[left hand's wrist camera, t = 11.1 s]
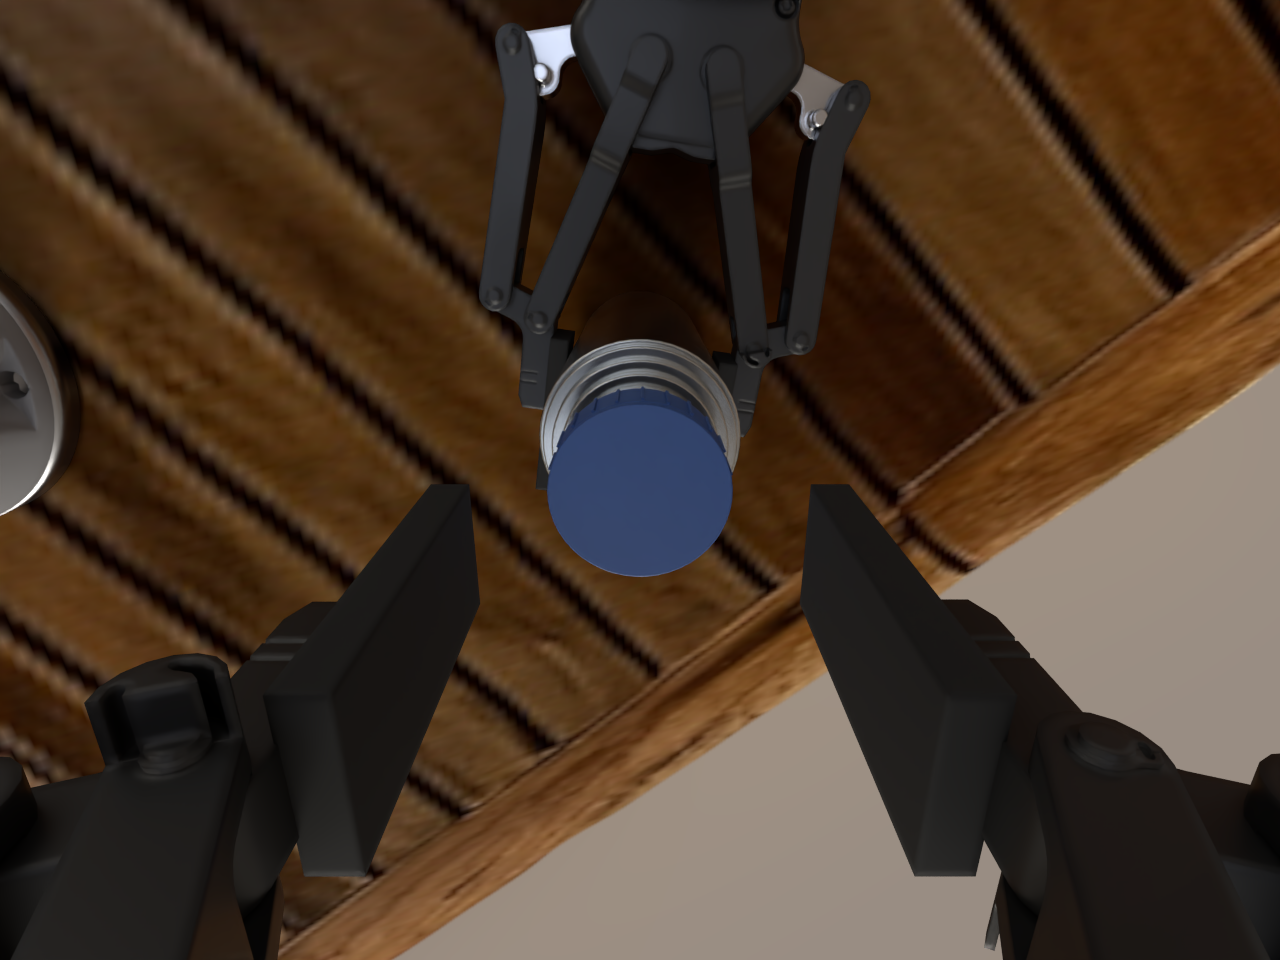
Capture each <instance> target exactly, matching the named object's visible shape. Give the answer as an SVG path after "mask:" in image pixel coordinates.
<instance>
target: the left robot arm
mask: <svg viewBox="0 0 1280 960" xmlns="http://www.w3.org/2000/svg"><path fill="white" fill-rule="evenodd" d="M79 431H80V401H79V395H78V389H77V385H76V381H75V377H74V374H73V371H72V368H71V365H70V363H69V360H68V358H67V355H66V353H65V351H64V349H63V347H62V345H61V343H60V341H59V339H58V338H57V336H56V334H55V332H54V330H53V329H52V327H51V326H50V324H49V323H48V321H47V320H46V319H45V317H44V316H43V314H42V313H41V312H40V311H39V309H38V308H37V307H36V305H35V304H34V303H33V302H32V301H31V300H30V298H29V297H28V296H27V295H26V294H25V293H24V292H23V291H22V290H21V289H20V288H19V287H18V286H17V285H16V284H15V283H14V282H13V281H12V280H11V279H10V278H9V277H8V276H6V275H5V274H4V273H3V272H2V271H0V516H1V515H3V514H5V513H7V512H10V511H12V510H14V509H16V508H18V507H20V506H23V505H25V504H27V503H29V502H31V501H33V500H35V499H36V498H38V497H40V496H41V495H42V494H44V493H45V492H47V491H48V490H49V489H50V488H51V487H52V486H53V485H54V484H55V483H56V482H57V481H58V480H59V479H60V477H61V476H62V475H63V474H64V472H65V470H66V469H67V467H68V465H69V464H70V462H71V459H72V457H73V455H74V452H75V449H76V446H77V442H78V437H79ZM479 605H480V598H479V587H478V576H477V566H476V555H475V544H474V533H473V523H472V512H471V501H470V490H469V484H431V485H430V486H429V488H428V489H427V490H426V491H425V493H424V494H423V495H422V496H421V498H420V499H419V500H418V501H417V503H416V504H415V505H414V506H413V508H412V509H411V510H410V511H409V513H408V514H407V515H406V516H405V518H404V519H403V520H402V521H401V523H400V524H399V525H398V526H397V528H396V529H395V530H394V531H393V533H392V534H391V535H390V536H389V538H388V539H387V540H386V541H385V543H384V544H383V545H382V546H381V548H380V549H379V550H378V551H377V553H376V554H375V555H374V557H373V558H372V559H371V560H370V562H369V563H368V564H367V565H366V567H365V568H364V569H363V570H362V572H361V573H360V574H359V575H358V577H357V578H356V579H355V580H354V582H353V583H352V584H351V585H350V587H349V588H348V589H347V590H346V592H345V593H344V594H343V595H342V597H341V598H340V599H339V600H338V602H311V603H310V604H308V605H306V606H305V607H303V608H302V609H300V610H298V611H297V612H295V613H293V614H292V615H290V616H288V617H287V618H285V619H284V620H283V621H282V622H281V623H280V624H279V625H278V626H277V628H276V629H275V630H274V631H273V632H272V633H271V634H270V635H269V636H268V638H267V639H266V643H262V644H261V645H260V647H259V648H258V649H257V650H256V651H255V652H254V653H253V654H252V655H251V659H250V661H246V662H245V663H244V664H243V665H242V667H241V668H240V669H239V670H238V671H237V672H236V673H235V674H234V675H233V677H232V678H231V679H230V675H229V671H228V667H227V664H226V663H224V662H223V661H222V660H220V659H219V658H218V657H216V656H211V655H205V654H199V653H195V654H183V655H173V656H169V657H165V658H161V659H157V660H153V661H149V662H146V663H144V664H141V665H139V666H137V667H134V668H132V669H130V670H127V671H125V672H123V673H120V674H119V675H117V676H116V677H114V678H113V679H111V680H110V681H108V682H106V683H105V684H103V685H102V686H100V687H99V688H98V689H97V690H96V691H95V692H94V693H93V694H92V695H91V696H90V697H89V698H88V700H87V701H86V702H85V703H84V704H85V707H86V710H87V713H88V716H89V718H90V721H91V724H92V727H93V730H94V733H95V736H96V739H97V742H98V745H99V748H100V751H101V753H102V756H103V759H104V762H105V765H106V766H105V768H104V770H103V772H101V773H97V774H93V775H88V776H84V777H79V778H74V779H70V780H65V781H60V782H56V783H51V784H46V785H42V786H37V787H33V788H30V785H29V782H28V780H27V777H26V775H25V772H24V770H23V767H22V765H20V764H19V763H18V762H16V761H15V760H13V759H12V758H10V757H0V960H277V957H278V950H279V942H280V934H281V926H282V919H283V911H284V895H283V888H282V884H281V880H280V876H279V873H280V871H281V870H282V868H283V866H284V864H285V862H286V861H287V859H288V857H289V855H290V853H291V852H292V850H293V848H294V846H295V844H296V843H297V846H298V851H299V855H300V859H301V864H302V868H303V872H304V876H366V873H367V871H368V869H369V866H370V864H371V862H372V859H373V857H374V854H375V852H376V850H377V847H378V845H379V842H380V840H381V838H382V835H383V833H384V831H385V828H386V826H387V823H388V821H389V819H390V816H391V814H392V812H393V809H394V807H395V804H396V802H397V800H398V797H399V795H400V793H401V790H402V788H403V785H404V783H405V781H406V778H407V776H408V774H409V771H410V769H411V766H412V764H413V762H414V759H415V757H416V755H417V752H418V750H419V747H420V745H421V743H422V740H423V738H424V736H425V733H426V731H427V728H428V726H429V724H430V721H431V719H432V717H433V714H434V712H435V709H436V707H437V705H438V702H439V700H440V697H441V695H442V693H443V690H444V688H445V686H446V683H447V681H448V678H449V676H450V674H451V671H452V669H453V667H454V664H455V662H456V659H457V657H458V655H459V652H460V650H461V648H462V645H463V643H464V640H465V638H466V636H467V633H468V631H469V629H470V626H471V624H472V621H473V619H474V617H475V614H476V612H477V610H478V607H479ZM800 605H801V607H802V610H803V612H804V614H805V617H806V619H807V621H808V624H809V626H810V629H811V631H812V633H813V636H814V638H815V640H816V643H817V645H818V648H819V650H820V652H821V655H822V657H823V659H824V662H825V664H826V667H827V669H828V671H829V674H830V676H831V678H832V681H833V683H834V686H835V688H836V690H837V693H838V695H839V697H840V700H841V702H842V705H843V707H844V709H845V712H846V714H847V717H848V719H849V721H850V724H851V726H852V728H853V731H854V733H855V736H856V738H857V740H858V743H859V745H860V747H861V750H862V752H863V755H864V757H865V759H866V762H867V764H868V766H869V769H870V771H871V774H872V776H873V778H874V781H875V783H876V785H877V788H878V790H879V792H880V795H881V797H882V800H883V802H884V804H885V807H886V809H887V811H888V814H889V816H890V819H891V821H892V823H893V826H894V828H895V831H896V833H897V835H898V838H899V840H900V842H901V845H902V847H903V850H904V852H905V854H906V857H907V859H908V862H909V864H910V866H911V869H912V871H913V873H914V876H976V872H977V868H978V863H979V859H980V855H981V851H982V846H983V842H984V841H985V842H986V844H987V846H988V848H989V850H990V852H991V853H992V855H993V857H994V859H995V860H996V862H997V864H998V866H999V868H1000V869H1001V871H1002V872H1001V876H1000V880H999V884H998V888H997V892H996V896H995V900H994V904H993V908H992V912H991V916H990V920H989V924H988V928H987V932H986V940H985V948H988V949H991V950H995V947H996V943H997V939H998V935H999V933H1000V940H1001V948H1002V955H1003V960H1280V754H1271V755H1269V756H1268V757H1266V758H1265V759H1263V760H1262V761H1261V762H1260V763H1259V765H1258V767H1257V770H1256V772H1255V775H1254V777H1253V780H1252V782H1251V785H1249V784H1244V783H1239V782H1235V781H1230V780H1225V779H1221V778H1216V777H1211V776H1206V775H1202V774H1197V773H1192V772H1188V771H1184V770H1180V769H1176V767H1175V765H1174V764H1173V762H1172V761H1171V760H1170V759H1169V757H1168V756H1167V755H1166V753H1165V752H1164V751H1163V750H1162V748H1160V747H1159V746H1158V745H1157V744H1155V743H1154V742H1153V741H1151V740H1150V739H1149V738H1147V737H1146V736H1144V735H1143V734H1142V733H1140V732H1138V731H1136V730H1134V729H1132V728H1130V727H1128V726H1126V725H1124V724H1122V723H1120V722H1118V721H1116V720H1113V719H1109V718H1106V717H1103V716H1099V715H1096V714H1092V713H1086V712H1082V711H1081V710H1080V709H1079V708H1078V706H1077V705H1076V704H1075V703H1074V702H1073V701H1072V700H1071V699H1070V698H1069V696H1068V695H1067V694H1066V693H1065V692H1064V691H1063V690H1062V689H1061V688H1060V687H1059V685H1058V684H1057V683H1056V682H1055V681H1054V680H1053V679H1052V678H1051V677H1050V675H1049V674H1048V673H1047V672H1046V671H1045V670H1044V669H1043V668H1042V667H1041V666H1040V664H1039V663H1038V662H1037V661H1036V660H1035V659H1034V658H1030V653H1029V652H1028V651H1027V650H1026V649H1025V648H1024V647H1023V646H1022V645H1021V643H1020V642H1019V641H1015V637H1014V636H1013V635H1012V634H1011V632H1010V631H1009V630H1008V629H1007V628H1006V627H1005V626H1004V625H1003V624H1002V622H1001V621H1000V620H999V619H998V618H997V617H996V616H994V615H993V614H991V613H989V612H988V611H986V610H984V609H983V608H981V607H979V606H978V605H976V604H974V603H973V602H971V601H969V600H941V599H940V598H939V597H938V595H937V594H936V593H935V592H934V590H933V589H932V588H931V587H930V585H929V584H928V583H927V582H926V580H925V579H924V578H923V577H922V575H921V574H920V573H919V572H918V570H917V569H916V568H915V567H914V565H913V564H912V563H911V562H910V560H909V559H908V558H907V557H906V555H905V554H904V553H903V552H902V550H901V549H900V548H899V547H898V545H897V544H896V543H895V541H894V540H893V539H892V538H891V536H890V535H889V534H888V533H887V531H886V530H885V529H884V528H883V526H882V525H881V524H880V523H879V521H878V520H877V519H876V518H875V516H874V515H873V514H872V513H871V511H870V510H869V509H868V508H867V506H866V505H865V504H864V503H863V501H862V500H861V499H860V498H859V496H858V495H857V494H856V493H855V491H854V490H853V489H852V488H851V486H850V485H849V484H811V490H810V501H809V512H808V523H807V533H806V544H805V555H804V566H803V576H802V587H801V598H800Z"/></svg>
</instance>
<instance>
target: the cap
mask: <svg viewBox="0 0 1280 960" xmlns="http://www.w3.org/2000/svg"><path fill="white" fill-rule="evenodd" d="M556 447H557V448H558V449H557V451H556V452H554V454H553V457H552V460H551V462H550V465H549V468H548V470H550V473H549V477H548V487H547V494H548V503H549V508H550V512H551V515H552V518H553V521H554V523H555V525H556V527H557V529H558V531H559V533H560V534H561V536H562V537H563V539H564V540H565V542H566V543H567V544H568V545H569V546H570V547H571V548H572V549H573V550H574V551H575V552H576V553H577V554H578V555H579V556H581V557H582V558H583V559H585V560H586V561H588V562H589V563H591V564H593V565H595V566H597V567H599V568H601V569H603V570H606V571H609V572H612V573H616V574H620V575H626V576H634V577H642V576H654V575H660V574H664V573H668V572H671V571H674V570H677V569H679V568H681V567H683V566H685V565H687V564H689V563H691V562H692V561H694V560H695V559H697V558H698V557H699V556H701V555H702V554H703V553H704V552H705V551H706V550H707V549H708V548H709V547H710V546H711V545H712V544H713V543H714V542H715V540H716V539H717V537H718V536H719V534H720V533H721V531H722V529H723V527H724V525H725V523H726V521H727V518H728V515H729V512H730V508H731V503H732V492H733V487H732V477H731V475H733V474H732V470H731V468H730V465H729V462H728V460H727V457H725V454H724V453H725V452H726V450H725V447H724V444H723V442H722V439H721V437H720V435H718V436H717V434H716V432H715V430H714V428H713V427H712V425H711V423H710V421H709V418H708V417H707V416H704V415H703V414H702V413H701V412H700V411H699V410H698V409H696V408H695V407H694V406H692V405H691V402H690V401H689V400H688V401H687V402H686V401H685V400H683V399H681V398H679V397H677V396H675V395H672V394H670V393H669V391H667V390H666V391H665V392H663V391H659V390H654V389H646V388H644V387H641V389H627V390H621V391H620V389H617V390H616V392H613V393H610V394H608V395H605V396H603V397H601V398H599V399H597V398H595V399H594V401H593V402H592V403H590V404H589V405H588V406H586V407H585V408H584V409H582V410H581V411H580V412H579V413H578V412H576V413H575V415H574V418H573V420H572V421H571V423H570V424H569V425H568V427H567V428H566V430H565V431H562V433H561V435H560V438H559V441H558V443H557V446H556Z"/></svg>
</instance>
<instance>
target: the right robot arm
mask: <svg viewBox="0 0 1280 960" xmlns="http://www.w3.org/2000/svg"><path fill="white" fill-rule="evenodd" d="M801 2H802V0H583V1H582V3H581V4H580V6H579V7H578V9H577V10H576V12H575V14H574V16H573V19H572V22H571V25H565V26H559V27H552V28H546V29H539V30H533V31H525V30H524V29H523V28H522V27H521V26H519V25H518V24H516V23H508V24H505V25H503V26H502V27H501V28H500V29H499V30H498V32H497V35H496V37H495V46H496V51H497V57H498V63H499V68H500V74H501V79H502V85H503V91H504V96H505V103H504V110H503V118H502V125H501V133H500V140H499V147H498V155H497V162H496V170H495V177H494V185H493V192H492V200H491V207H490V215H489V222H488V230H487V237H486V244H485V252H484V259H483V267H482V274H481V282H480V289H479V298H480V301H481V303H482V305H483V306H485V307H486V308H487V309H489V310H491V311H497V312H499V313H501V314H503V315H505V316H507V317H509V318H511V319H512V320H514V321H515V322H516V323H517V324H518V325H519V326H520V328H521V330H522V333H523V348H522V360H521V372H520V384H519V398H520V401H521V404H522V407H528V408H535V409H542V410H543V408H544V405H545V402H546V400H547V397H548V395H549V393H550V391H551V389H552V387H553V386H554V384H555V382H556V380H557V378H558V376H559V374H560V372H561V371H562V369H563V367H564V365H565V363H566V361H567V359H568V357H569V355H570V354H571V352H572V350H573V344H574V335H575V331H570V330H563V329H557V327H558V319H559V318H560V315H561V312H562V310H563V308H564V305H565V303H566V301H567V299H568V296H569V294H570V292H571V290H572V287H573V285H574V283H575V281H576V278H577V276H578V274H579V271H580V269H581V267H582V265H583V262H584V260H585V258H586V256H587V253H588V251H589V249H590V246H591V244H592V242H593V240H594V237H595V235H596V233H597V231H598V228H599V226H600V224H601V222H602V219H603V217H604V215H605V212H606V210H607V208H608V206H609V203H610V201H611V199H612V197H613V194H614V192H615V190H616V188H617V185H618V183H619V181H620V179H621V177H622V175H623V173H624V171H625V169H626V166H627V164H628V162H629V160H630V157H631V155H632V153H639V154H646V155H658V154H665V153H674V154H676V155H678V156H680V157H682V158H684V159H686V160H688V161H690V162H697V163H703V164H708V168H709V176H710V183H711V188H712V191H713V197H714V205H715V213H716V220H717V228H718V236H719V244H720V252H721V260H722V268H723V275H724V283H725V291H726V299H727V307H728V315H729V322H730V330H731V338H732V344H733V346H732V352H731V354H730V353H723V352H716V351H713V355H712V359H713V361H714V363H715V365H716V367H717V369H718V370H719V372H720V374H721V376H722V378H723V380H724V382H725V384H726V385H727V387H728V389H729V391H730V393H731V395H732V397H733V400H734V402H735V405H736V408H737V411H738V416H739V420H740V431H741V437H744V436H745V435H746V433H747V432H748V430H749V429H750V427H751V424H752V419H753V413H754V409H755V403H756V399H757V395H758V390H759V385H760V380H761V375H762V371H763V369H764V367H765V365H766V364H768V363H769V361H771V360H772V359H774V358H777V357H781V356H786V355H791V354H797V355H803V354H806V353H808V352H810V351H811V350H812V349H813V347H814V345H815V343H816V338H817V332H818V325H819V319H820V312H821V306H822V300H823V293H824V287H825V280H826V274H827V267H828V261H829V254H830V248H831V241H832V235H833V229H834V222H835V216H836V209H837V203H838V196H839V190H840V183H841V177H842V171H843V164H844V158H845V153H846V151H847V149H848V147H849V145H850V143H851V141H852V139H853V137H854V135H855V133H856V131H857V128H858V126H859V124H860V122H861V120H862V118H863V116H864V114H865V112H866V110H867V108H868V106H869V103H870V91H869V89H868V86H867V85H866V84H865V83H863V82H862V81H858V80H853V81H849V82H847V83H846V84H842V83H840V82H838V81H836V80H835V79H833V78H831V77H829V76H827V75H825V74H823V73H821V72H819V71H817V70H816V69H814V68H812V67H810V66H808V65H806V64H804V62H805V55H804V49H803V45H802V42H801V38H800V32H799V14H800V7H801ZM577 61H578V63H579V65H580V67H581V69H582V71H583V73H584V75H585V77H586V79H587V81H588V83H589V85H590V87H591V89H592V91H593V93H594V96H595V98H596V100H597V102H598V104H599V106H600V108H601V110H602V112H603V114H604V116H605V119H604V122H603V124H602V126H601V129H600V131H599V134H598V136H597V138H596V141H595V143H594V146H593V148H592V151H591V155H590V158H589V161H588V163H587V165H586V168H585V170H584V173H583V175H582V177H581V180H580V182H579V184H578V187H577V189H576V192H575V194H574V196H573V199H572V201H571V203H570V206H569V208H568V210H567V213H566V215H565V218H564V220H563V222H562V225H561V227H560V229H559V232H558V234H557V236H556V239H555V241H554V244H553V246H552V248H551V251H550V253H549V255H548V258H547V260H546V263H545V265H544V267H543V270H542V272H541V274H540V277H539V279H538V281H537V284H536V286H535V289H534V291H532V290H531V289H529V288H527V287H525V286H523V285H521V280H522V274H523V267H524V261H525V254H526V248H527V241H528V235H529V228H530V222H531V215H532V209H533V202H534V196H535V189H536V183H537V176H538V170H539V163H540V157H541V150H542V144H543V137H544V131H545V121H546V102H545V99H550V98H553V97H555V96H556V95H557V94H558V93H559V91H560V89H561V86H562V76H563V73H564V70H565V69H566V68H567V66H568V65H570V64H571V63H574V62H577ZM786 96H788V97H789V98H791V99H792V101H793V102H794V104H795V107H796V118H795V123H794V126H795V131H796V134H797V135H798V136H799V137H800V138H801V139H802V140H804V144H803V147H802V150H801V153H800V157H799V161H798V167H797V173H796V180H795V188H794V195H793V202H792V210H791V217H790V225H789V232H788V240H787V247H786V255H785V262H784V270H783V277H782V285H781V292H780V300H779V307H778V315H777V322H773V323H769V324H767V323H766V314H765V305H764V296H763V286H762V277H761V268H760V259H759V250H758V241H757V231H756V222H755V213H754V204H753V195H752V166H751V156H750V147H749V138H748V137H749V136H750V135H751V134H752V133H753V132H754V131H755V130H756V129H757V128H758V127H759V126H760V124H761V123H762V122H763V121H764V120H765V119H766V118H767V117H768V116H769V115H770V114H771V112H772V111H773V110H774V109H775V108H776V107H777V106H778V105H779V104H780V103H781V102H782V100H783V99H784V98H785V97H786ZM548 477H549V475H548V473H547V471H546V468H545V465H544V462H543V459H542V454H541V449H540V450H539V460H538V470H537V481H536V489H541V490H547V487H548Z"/></svg>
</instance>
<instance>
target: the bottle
mask: <svg viewBox="0 0 1280 960" xmlns="http://www.w3.org/2000/svg"><path fill="white" fill-rule="evenodd" d="M641 387H644V388H646V389H654V390H659V391H663V392H665V391H666V390H667V391H669V393H670V394H672V395H675V396H677V397H679V398H681V399H683V400H685V401H686V402H687V401H688V400H689V401H690V402H691V405H692V406H694V407H695V408H696V409H698V410H699V411H700V412H701V413H702V414H703V415H704V416H707V417H708V418H709V421H710V423H711V425H712V427H713V428H714V430H715V432H716V434H717V436H718V435H720V437H721V439H722V442H723V444H724V447H725V450H726V452H725V453H724V454H725V457H727V460H728V462H729V465H730V468H731V470H732V473H733V471H734V468H735V465H736V462H737V459H738V454H739V449H740V437H741V431H740V420H739V416H738V411H737V408H736V405H735V402H734V400H733V397H732V395H731V393H730V391H729V389H728V387H727V385H726V384H725V382H724V380H723V378H722V376H721V374H720V372H719V370H718V369H717V367H716V365H715V363H714V361H713V359H712V357H711V355H710V354H709V352H708V350H707V348H706V346H705V344H704V342H703V340H702V339H701V337H700V335H699V333H698V331H697V329H696V327H695V325H694V324H693V322H692V320H691V318H690V317H689V316H688V314H687V313H686V312H685V311H684V310H683V309H682V308H681V307H680V306H679V305H678V304H677V303H675V302H674V301H672V300H671V299H669V298H667V297H665V296H663V295H661V294H657V293H654V292H648V291H632V292H626V293H623V294H619V295H617V296H615V297H613V298H611V299H609V300H608V301H606V302H605V303H603V304H602V305H601V306H600V307H599V308H598V309H597V310H596V311H595V312H594V313H593V314H592V316H591V317H590V318H589V320H588V322H587V324H586V326H585V327H584V329H583V331H582V333H581V335H580V337H579V339H578V340H577V342H576V344H575V346H574V348H573V350H572V352H571V354H570V355H569V357H568V359H567V361H566V363H565V365H564V367H563V369H562V371H561V372H560V374H559V376H558V378H557V380H556V382H555V384H554V386H553V387H552V389H551V391H550V393H549V395H548V397H547V400H546V402H545V405H544V408H543V412H542V416H541V420H540V432H539V437H540V449H541V454H542V459H543V462H544V465H545V468H546V471H547V473H548V475H549V473H550V470H548V468H549V465H550V462H551V460H552V457H553V454H554V452H556V451H557V449H558V448H557V447H556V446H557V443H558V441H559V438H560V435H561V433H562V431H565V430H566V428H567V427H568V425H569V424H570V423H571V421H572V420H573V418H574V415H575V413H576V412H578V413H579V412H580V411H581V410H582V409H584V408H585V407H586V406H588V405H589V404H590V403H592V402H593V401H594V399H595V398H597V399H599V398H601V397H603V396H605V395H608V394H610V393H613V392H616V390H617V389H620V391H621V390H627V389H641Z"/></svg>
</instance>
